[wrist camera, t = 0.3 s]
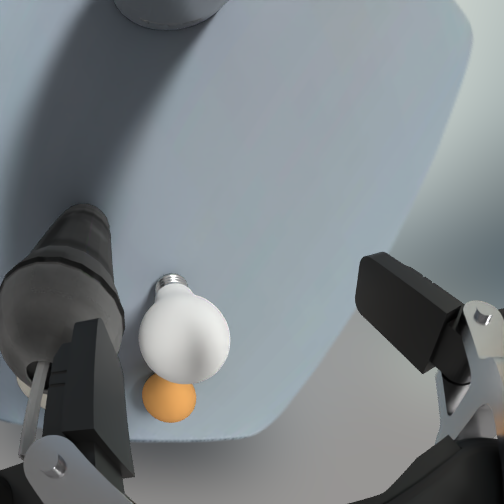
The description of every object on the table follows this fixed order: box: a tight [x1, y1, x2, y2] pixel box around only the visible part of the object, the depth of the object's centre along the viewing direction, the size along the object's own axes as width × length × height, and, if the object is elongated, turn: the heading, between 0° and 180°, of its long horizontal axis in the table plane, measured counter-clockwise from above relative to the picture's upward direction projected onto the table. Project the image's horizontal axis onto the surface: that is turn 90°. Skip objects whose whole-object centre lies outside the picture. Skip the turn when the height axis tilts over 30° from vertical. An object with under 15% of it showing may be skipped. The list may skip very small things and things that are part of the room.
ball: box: [142, 373, 196, 423], centre depth 31 cm, size 6×6×6 cm
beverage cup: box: [0, 204, 125, 461], centre depth 15 cm, size 7×7×20 cm
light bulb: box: [139, 273, 230, 384], centre depth 23 cm, size 7×7×11 cm
